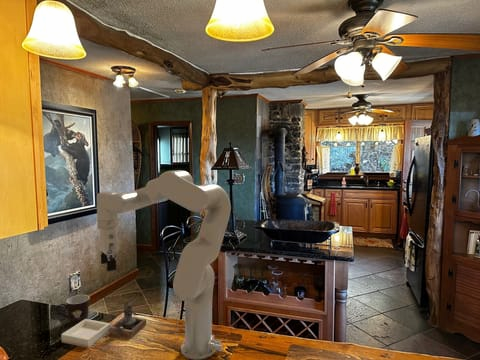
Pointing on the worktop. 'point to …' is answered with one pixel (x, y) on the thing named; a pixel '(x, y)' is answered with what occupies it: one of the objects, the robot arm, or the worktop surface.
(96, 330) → the tray
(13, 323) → the worktop surface
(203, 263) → the robot arm
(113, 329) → the tray
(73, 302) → the coffee mug
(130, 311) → the salt shaker
